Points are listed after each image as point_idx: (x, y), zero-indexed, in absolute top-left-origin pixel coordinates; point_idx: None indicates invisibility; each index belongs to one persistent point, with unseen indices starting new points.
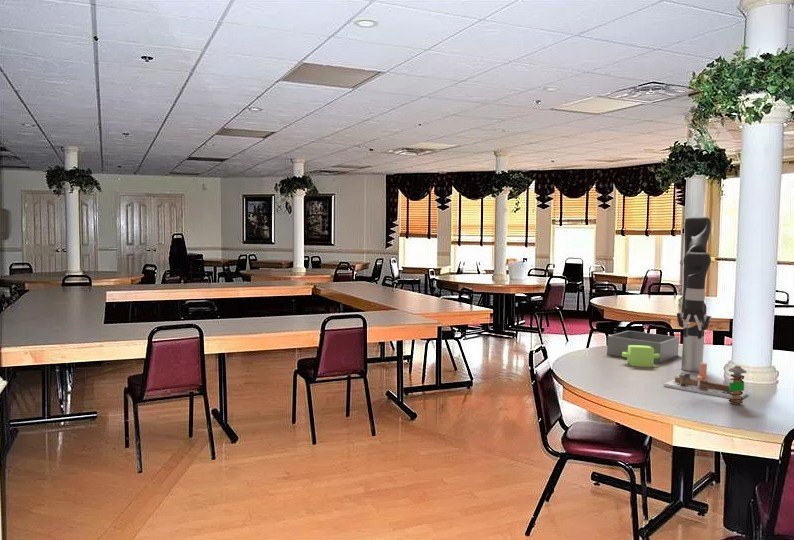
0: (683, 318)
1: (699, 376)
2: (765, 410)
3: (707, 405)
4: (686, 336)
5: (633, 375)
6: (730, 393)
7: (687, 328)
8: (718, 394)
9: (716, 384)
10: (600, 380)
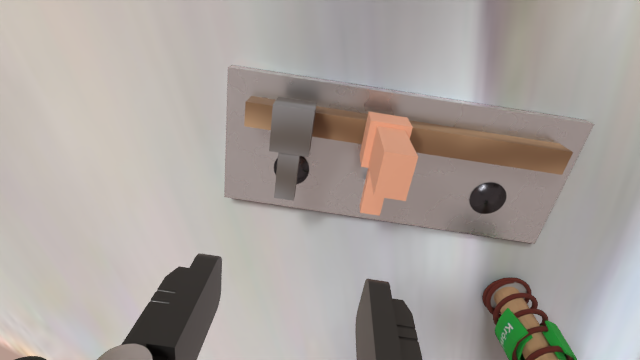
0: None
1: (372, 190)
2: (593, 314)
3: None
4: (218, 295)
5: (26, 46)
6: (497, 313)
7: (164, 346)
8: (450, 229)
9: (451, 157)
10: (9, 240)
